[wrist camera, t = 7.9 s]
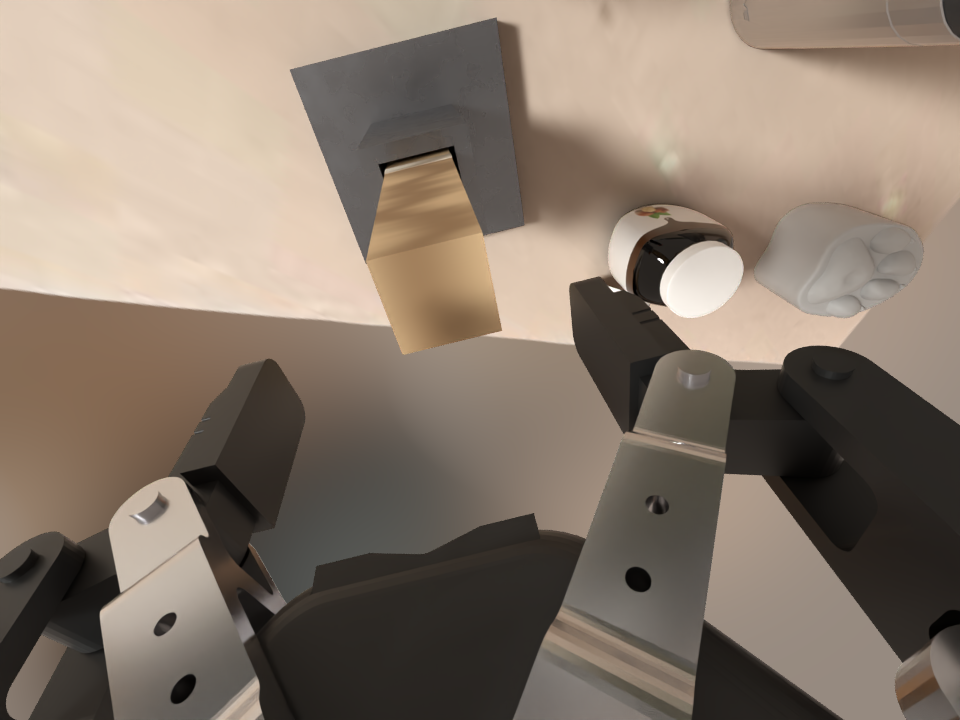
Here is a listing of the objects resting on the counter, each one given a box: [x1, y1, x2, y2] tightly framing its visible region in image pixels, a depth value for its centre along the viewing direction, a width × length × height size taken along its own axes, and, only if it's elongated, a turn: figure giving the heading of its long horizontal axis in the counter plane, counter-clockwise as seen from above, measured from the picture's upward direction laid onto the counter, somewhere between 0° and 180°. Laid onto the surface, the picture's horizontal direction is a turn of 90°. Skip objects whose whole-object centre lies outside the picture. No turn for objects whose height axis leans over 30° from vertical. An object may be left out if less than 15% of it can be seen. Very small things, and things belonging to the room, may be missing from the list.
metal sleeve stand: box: [290, 18, 524, 264], centre depth 32 cm, size 16×16×14 cm
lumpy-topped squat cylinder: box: [754, 203, 924, 318], centre depth 46 cm, size 10×13×9 cm
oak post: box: [366, 147, 502, 355], centre depth 23 cm, size 4×4×20 cm
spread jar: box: [608, 204, 744, 318], centre depth 42 cm, size 12×11×12 cm
